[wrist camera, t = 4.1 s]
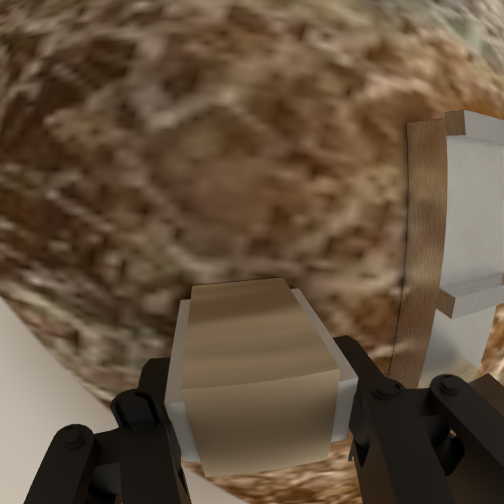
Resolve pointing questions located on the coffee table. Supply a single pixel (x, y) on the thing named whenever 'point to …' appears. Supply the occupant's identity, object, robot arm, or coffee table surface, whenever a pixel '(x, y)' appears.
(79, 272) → the coffee table surface
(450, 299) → the rail
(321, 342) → the tan cardboard carton
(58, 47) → the coffee table surface
